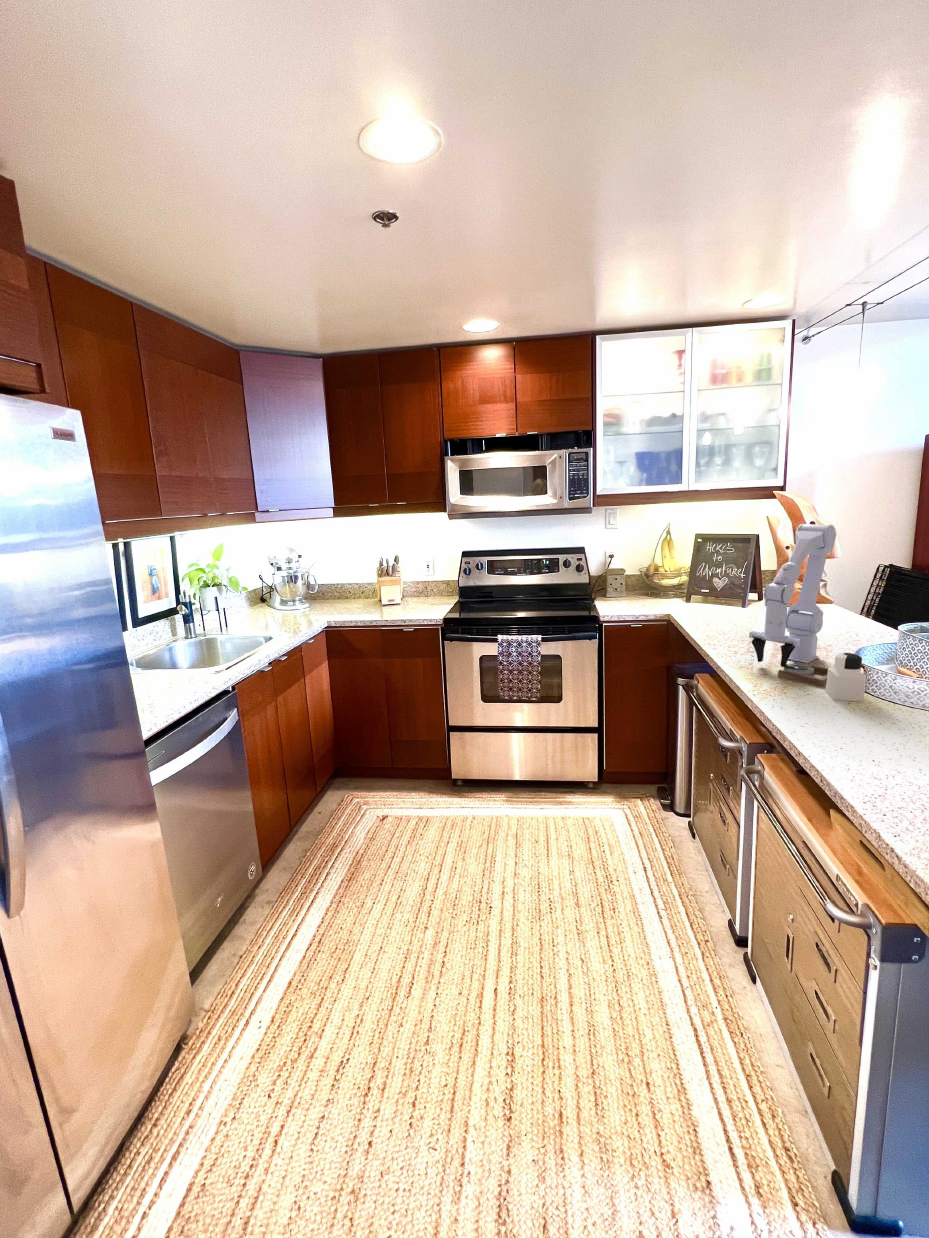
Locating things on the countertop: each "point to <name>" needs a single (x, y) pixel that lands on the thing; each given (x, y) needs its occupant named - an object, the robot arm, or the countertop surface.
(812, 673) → the ring
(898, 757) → the countertop surface
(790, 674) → the cradle
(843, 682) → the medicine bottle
